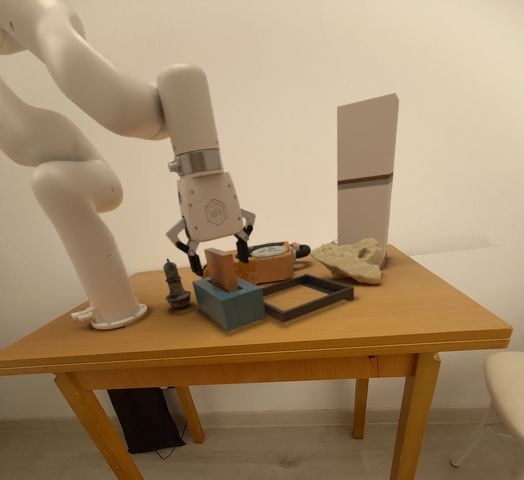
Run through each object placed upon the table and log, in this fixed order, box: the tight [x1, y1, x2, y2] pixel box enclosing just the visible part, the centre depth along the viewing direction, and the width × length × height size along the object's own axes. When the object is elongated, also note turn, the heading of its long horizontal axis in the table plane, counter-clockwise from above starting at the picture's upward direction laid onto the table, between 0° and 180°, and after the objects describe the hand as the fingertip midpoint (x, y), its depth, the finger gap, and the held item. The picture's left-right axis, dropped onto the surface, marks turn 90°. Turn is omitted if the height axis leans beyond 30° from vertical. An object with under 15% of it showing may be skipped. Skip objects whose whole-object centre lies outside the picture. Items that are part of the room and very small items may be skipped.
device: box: [201, 240, 312, 285], centre depth 83 cm, size 23×8×30 cm
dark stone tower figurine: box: [162, 257, 192, 310], centre depth 66 cm, size 6×6×12 cm
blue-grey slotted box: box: [191, 277, 267, 332], centre depth 61 cm, size 8×16×7 cm, turn 31°
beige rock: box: [309, 238, 384, 285], centre depth 71 cm, size 15×7×15 cm
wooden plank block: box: [203, 247, 239, 293], centre depth 59 cm, size 10×2×12 cm, turn 31°
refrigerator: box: [336, 92, 400, 270], centre depth 73 cm, size 11×11×35 cm
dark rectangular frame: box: [261, 273, 355, 323], centre depth 63 cm, size 18×16×3 cm
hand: (222, 268), depth 58 cm, fingers open, 9 cm apart
